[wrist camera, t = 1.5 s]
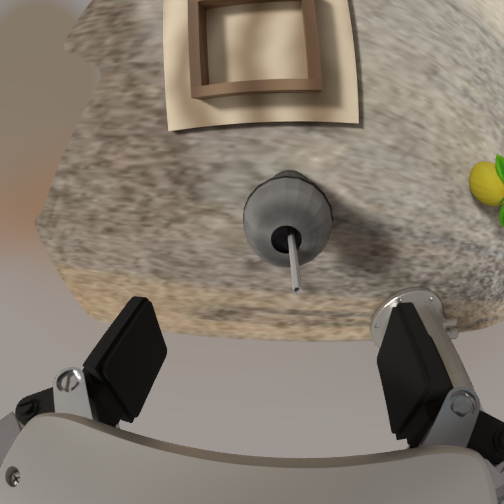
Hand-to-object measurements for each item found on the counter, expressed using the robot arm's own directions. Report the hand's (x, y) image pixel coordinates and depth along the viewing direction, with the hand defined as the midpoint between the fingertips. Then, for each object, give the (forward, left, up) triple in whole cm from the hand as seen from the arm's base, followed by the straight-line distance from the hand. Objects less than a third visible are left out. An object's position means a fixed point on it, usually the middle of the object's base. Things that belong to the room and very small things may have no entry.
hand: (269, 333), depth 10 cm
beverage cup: (0, 0, -25) cm, 25 cm away
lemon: (-26, -3, -25) cm, 36 cm away
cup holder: (+3, -18, -25) cm, 31 cm away
